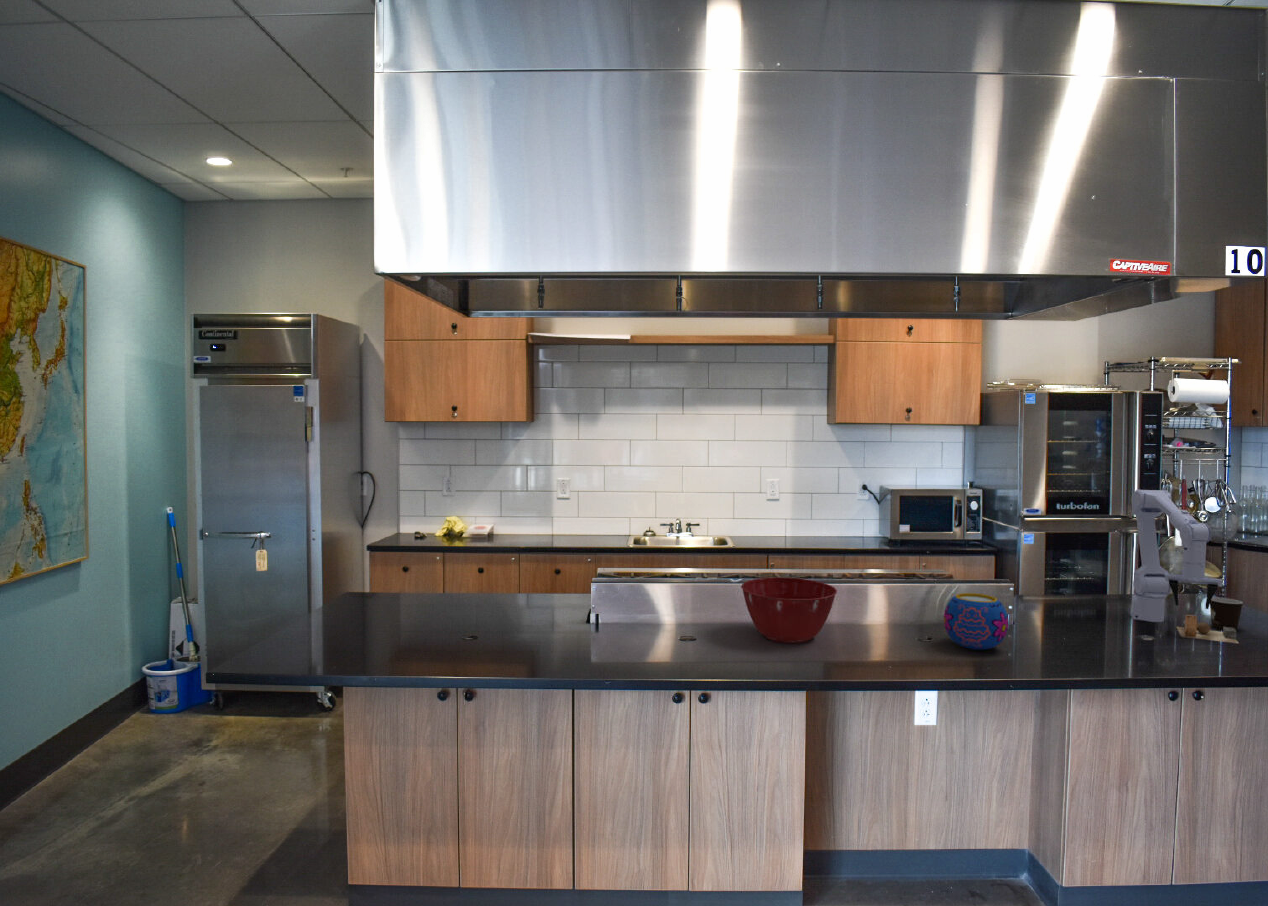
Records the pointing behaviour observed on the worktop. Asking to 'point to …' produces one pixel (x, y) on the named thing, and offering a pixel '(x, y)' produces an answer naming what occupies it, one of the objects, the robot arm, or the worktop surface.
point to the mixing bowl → (788, 607)
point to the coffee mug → (1225, 613)
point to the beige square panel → (1214, 635)
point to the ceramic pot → (976, 621)
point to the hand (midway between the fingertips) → (1191, 606)
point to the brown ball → (1203, 627)
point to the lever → (1190, 625)
